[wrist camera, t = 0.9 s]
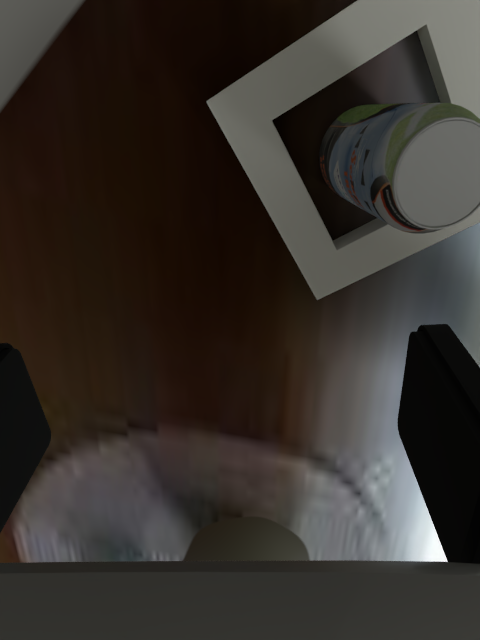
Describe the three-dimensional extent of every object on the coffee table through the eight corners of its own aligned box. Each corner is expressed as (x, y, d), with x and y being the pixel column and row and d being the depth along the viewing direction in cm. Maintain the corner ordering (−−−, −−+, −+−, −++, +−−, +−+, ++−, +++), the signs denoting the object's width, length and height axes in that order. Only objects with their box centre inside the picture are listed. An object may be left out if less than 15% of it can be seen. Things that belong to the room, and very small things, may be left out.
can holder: (517, 189, 31) (532, 196, 30) (314, 288, 36) (317, 300, 34) (449, -62, 25) (464, -71, 23) (208, 99, 29) (206, 101, 27)
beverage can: (298, 147, 30) (321, 190, 20) (390, 65, 28) (471, 67, 17) (350, 214, 33) (395, 284, 22) (440, 144, 30) (538, 187, 20)
